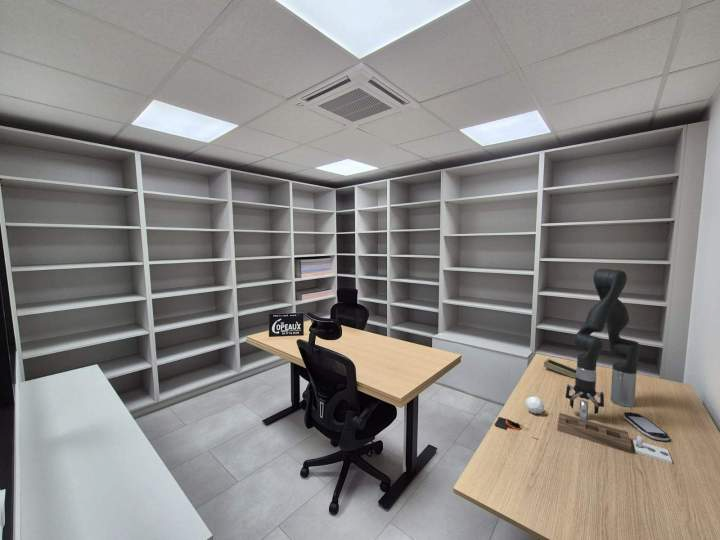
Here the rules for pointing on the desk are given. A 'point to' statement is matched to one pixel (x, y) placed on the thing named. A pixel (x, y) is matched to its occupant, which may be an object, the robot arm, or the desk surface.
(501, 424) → the multimeter
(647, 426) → the gaming console
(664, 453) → the white plate with peg
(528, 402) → the geometric ball
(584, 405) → the steel pin
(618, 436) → the pin board
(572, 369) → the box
